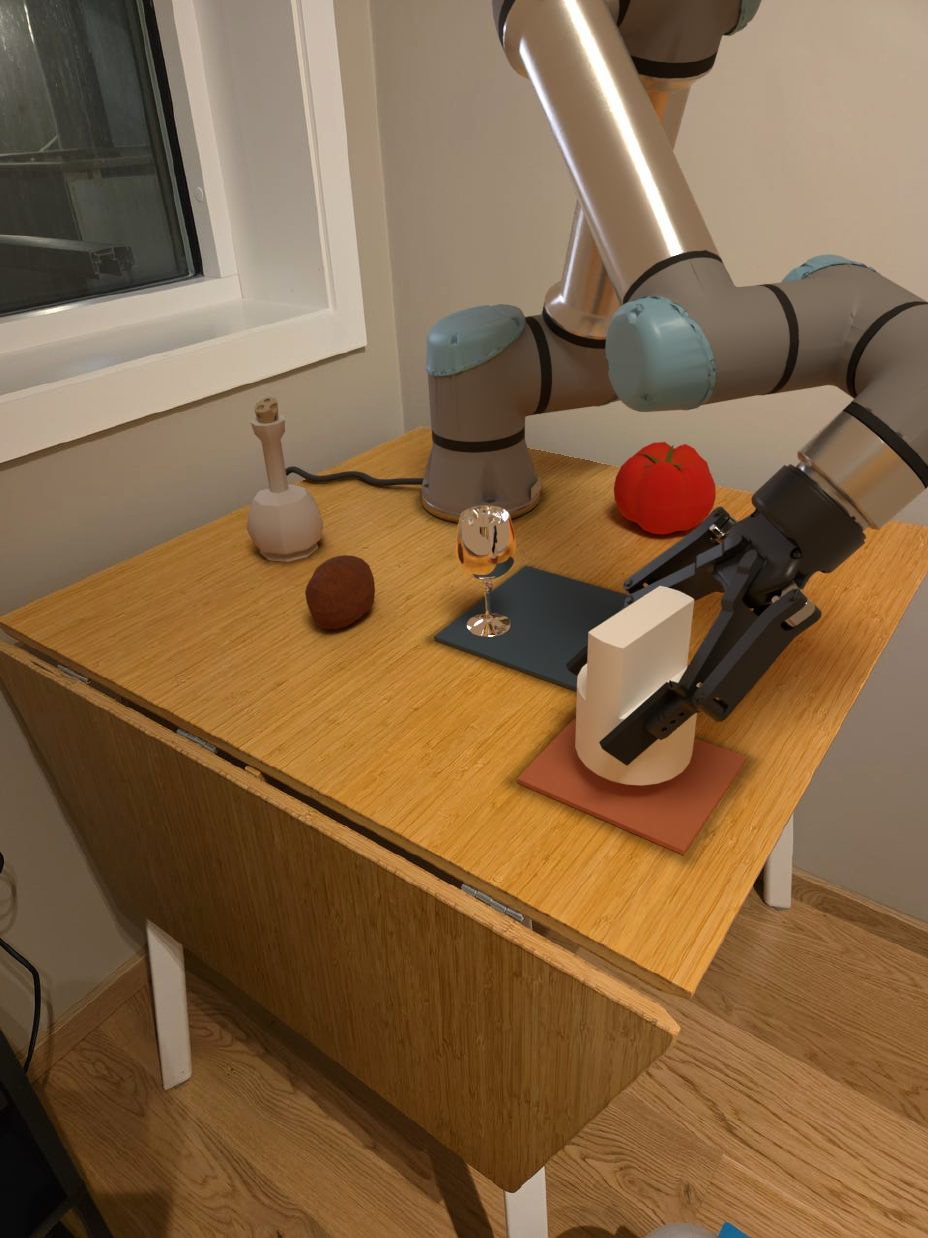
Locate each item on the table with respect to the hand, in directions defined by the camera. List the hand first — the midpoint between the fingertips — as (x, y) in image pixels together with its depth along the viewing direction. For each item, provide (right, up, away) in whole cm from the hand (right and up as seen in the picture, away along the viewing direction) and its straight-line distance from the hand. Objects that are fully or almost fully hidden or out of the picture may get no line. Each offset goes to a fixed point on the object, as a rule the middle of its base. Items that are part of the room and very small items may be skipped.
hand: (594, 712), depth 68 cm
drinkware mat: (-1, +6, +22) cm, 23 cm away
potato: (-22, +7, +26) cm, 35 cm away
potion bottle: (-31, +15, +40) cm, 52 cm away
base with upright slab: (+3, -3, +2) cm, 5 cm away
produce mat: (+3, -5, +4) cm, 7 cm away
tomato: (+14, +18, +41) cm, 47 cm away
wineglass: (-7, +6, +22) cm, 24 cm away
